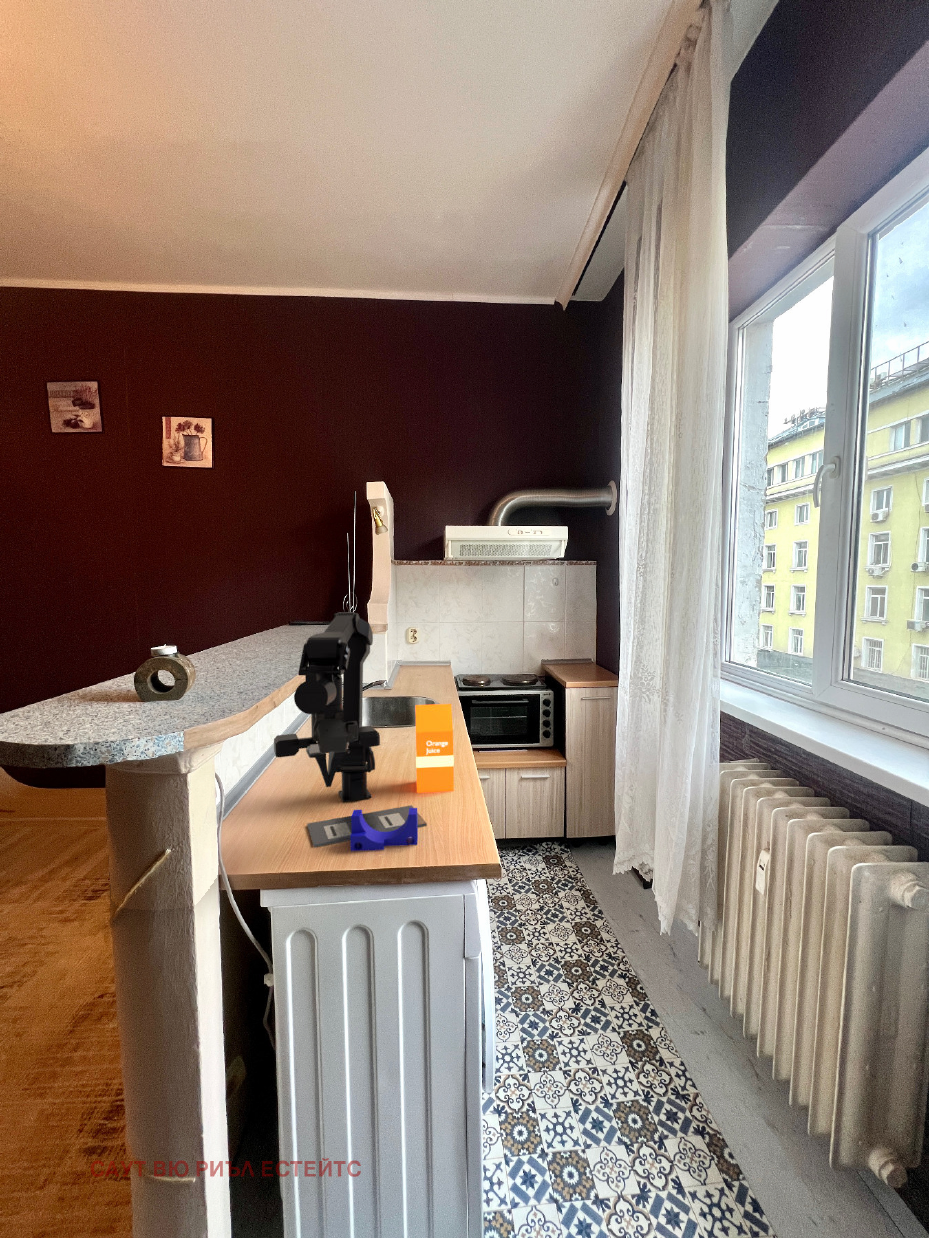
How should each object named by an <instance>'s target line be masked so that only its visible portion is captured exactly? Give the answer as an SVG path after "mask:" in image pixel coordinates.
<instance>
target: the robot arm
mask: <svg viewBox="0 0 929 1238" xmlns="http://www.w3.org/2000/svg"><path fill="white" fill-rule="evenodd" d="M373 635H374V634H373V630H372V627H371V625H370V623H369V622H367V621H365V620H364V619H362V618H360V615H359V613H356V612H355V611H352V612H351V611H348V612H346V611H345V612H343V611H342V612H340V611H339V612H337V613H334V615H333V619H332V621H331V623H329V625H328V626H327V628H326V629H325V631H323V632H320V633H317V634H313V635H311V636H310V637H308V638H307V640H306V642H305V643H304V644H303V649H302V653H301V656H300V663H299V668H298V676H304V677H305V681H303V682H301V683H300V684H299V685H298V686H297V688H296V689H295V691H294V695H293V699H294V704H295V706H296V707H297V708H298V710H299V711H300V712H301V713H304V714H306V715H310V717H311V718H310V719H311V727H310V728H311V737H310V736H309V737H298V735H297V733H289V734H287V733H286V734H279V735H276V736H275V737H274V738H273V751H274V755H275V758H286V757H293V756H294V757H295V756H296V755H297V754H298V753H299V751H300V750H301V749H305V752H306V754H307V757H308V758H310V759H315V760H316V763H317V765H318V767H319V771H320V773H321V776H322V778H323V779H322V780H323V781H324V784H325V787H326V788H331V787H332V785H333V782H334V778H335V775H336V773H341V790H338V795H339V798H340V800H341V801H342V802H343V803H348V802H353V801H354V802H355V801H360V800H366V799H371V798H372V794H371V793H370V791H369V790H368V779H367V778H368V776H367V775H368V773H371V772H372V771H374V770H376V759H375V754H374V751H373V749H372V748H373V747H378V746H380V745H381V737H380V733H379V731H377V730H376V729H375V728H374V727H373V726H372V725H369V726H368V725H367V726H363V694H364V693H363V691H364V690H363V688H364V686H363V685H364V682H363V681H364V679H363V678H364V663H365V662H366V659H368V656H369V655H370V653H371V646H372V645H373V641H374V640H373V639H374V637H373ZM342 675H343V678H342ZM327 754H328V760H327ZM327 761H328V763H327Z"/></svg>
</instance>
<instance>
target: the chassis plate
mask: <svg viewBox="0 0 929 1238" xmlns="http://www.w3.org/2000/svg"><path fill="white" fill-rule="evenodd" d="M409 808H414V806H413V805H405V806H398V807H394V808H387V809H383V810H377V811H371V812H366V813H362V815H363V818H364V820H365V821H366V823H367V824H368V825H369V826H370V827H371V828H373V829H375V830H377V831H380V832H390V831H394V830H396V829H398V828H400V827H401V826H402V825H403V824H404V823H405V821H406V820H407V818H408V815H409ZM351 816H352V815H349V816H343V817H337V818H332V819H325V820H319V821H312V822H309V823H308V822H307V824H306V825H307V829H308V832H309V835H310V839H311V843H312V846H313V848H318V847H324V846H327V845H328V846H329V845H334V844H338V843H339V844H340V843H344V842H349V841H350V836H351V833H352V826H351ZM417 820H418V828H421V827H427V825H428V823H427V822H426V820H424V818H423V817H422V816H421V814H420V813H419V812H418V811H417Z"/></svg>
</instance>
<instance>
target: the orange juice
mask: <svg viewBox="0 0 929 1238" xmlns="http://www.w3.org/2000/svg"><path fill="white" fill-rule="evenodd" d="M452 711H453V710H452V704H451V703H439V704H438V703H437V704H415V767H416V768H415V769H416V793H417V794H421V793H424V794H425V793H426V794H427V793H445V792H455V788H454V787H455V783H454V781H455V780H454V779H455V777H454V776H455V775H454V771H455V770H454V769H455V768H454V766H455V765H454V761H455V760H454V758H455V755H454V727H453V712H452Z"/></svg>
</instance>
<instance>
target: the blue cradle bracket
mask: <svg viewBox="0 0 929 1238" xmlns="http://www.w3.org/2000/svg"><path fill="white" fill-rule="evenodd" d="M417 812H418V807H413V808H409V815H408V818H407V820H406V821H405V823H404V824H403V825H402V826H401V827H400V828H398V829H396V830H394V831H390V832H380V831H377V830H375V829H373V828H371V827H370V826H369V825H368V824H367V823H366V821H365V820H364V818H363V815H362V814H363V810H362V809H353V811H352V814H351V815H350V816H351V826H352V833H351V836H350V843H349V844H350V852H364V851H365V852H366V851H368V852H369V851H384V850H385V847H390V846H391V847H397V846H398V847H399V846H400V847H401V846H417V845H418V839H419V832H418V831H419V829H418V828H419V827H418V820H417Z"/></svg>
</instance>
